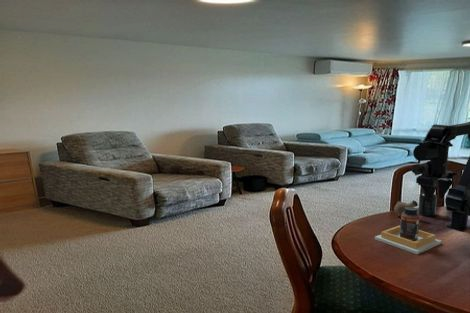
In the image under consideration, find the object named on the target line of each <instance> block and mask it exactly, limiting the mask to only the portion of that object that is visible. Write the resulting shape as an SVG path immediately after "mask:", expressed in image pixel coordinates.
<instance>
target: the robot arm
mask: <svg viewBox="0 0 470 313" xmlns="http://www.w3.org/2000/svg"><path fill="white" fill-rule="evenodd" d="M465 135H467V138H468V140H469V141H470V121H468V122H465V123H457V124H452V125H447V124H446V125H445V124H437V123H436V124H432V125H431V127H430V129H429V130H428V131H427V133H426V134H425V137H424V138H423V140H422V141H419V142H418V144H417V146H415V147H414V149H413V151H412V154H413V157H414V159H415V160H416V161H418V162H425V161H426V164H424V165H420V164H419V163H416V164H412V168H411V172H412V173H413V174H414V176H417V177H416V178H415V183H416V184H417V185H418V186H420V187H421V188H422V189H423V190H424V193H425V197H426V201H427V202H431V200H432V198H433V195H434V194H435V193H436V191H437V190H438V197H439V199H443V198H444V197H445V200H444V201H445V202H444V203H445V208H446V211H450V212H451V216H450V223H448V224H447V225H446V227H448V228H449V229H450V228H451V229H454V230H458V231H463V232H465V231H467V230H469V229H470V226H469V225H468V222H469V217H470V155H469V156H468V158H467V161H466V164H465V166H464V168H463V171H462V173H461V176H460V178H459V179H458V180H459V181H458V182H457V185H456V186H455V187H452V185H454V184H453V183H455V181H456V180H457V176H458V175H457V173H456V172H455V171H451V170H447V169H448V168H447V167H448V166H450V164H451V163H450V162H449V161H448V159H449V151H450V150H449V149H450V148H452V147H454V144H453V143H452V142H451V141H453V140H456V137H459V136H465ZM468 146H469V147H470V143H469V145H468Z"/></svg>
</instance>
